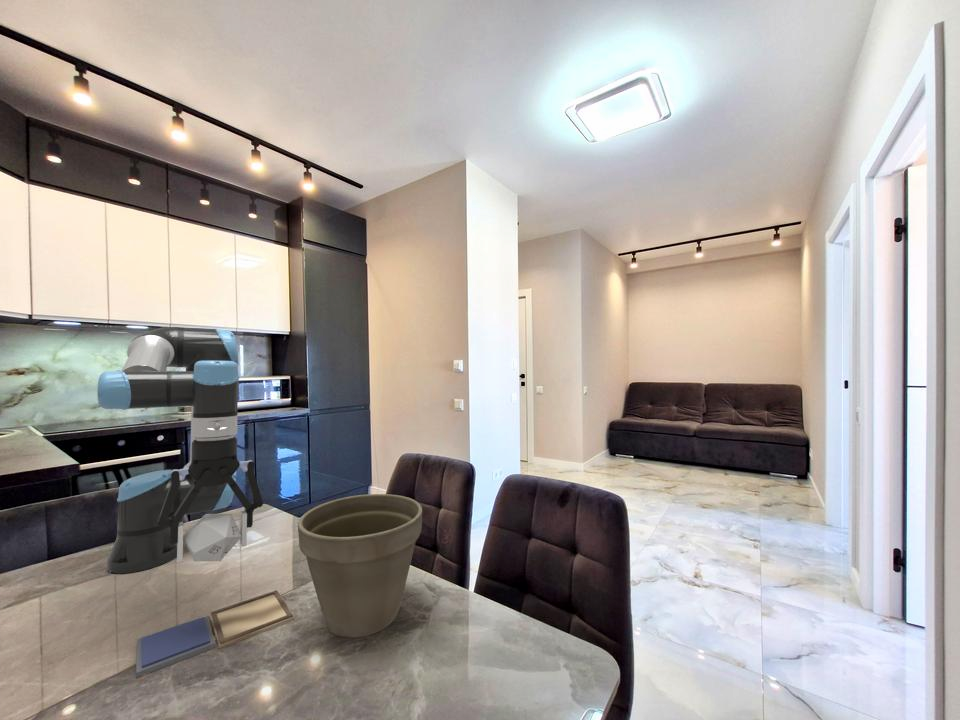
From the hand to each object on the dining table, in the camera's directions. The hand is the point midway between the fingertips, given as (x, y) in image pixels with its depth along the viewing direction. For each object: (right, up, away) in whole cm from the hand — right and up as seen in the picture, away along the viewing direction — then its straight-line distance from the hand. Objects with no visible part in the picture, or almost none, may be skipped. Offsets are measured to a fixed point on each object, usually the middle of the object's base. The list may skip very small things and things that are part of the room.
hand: (212, 551), depth 77 cm
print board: (+5, -16, +4) cm, 17 cm away
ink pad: (-4, -16, -4) cm, 17 cm away
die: (0, -1, 0) cm, 1 cm away
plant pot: (+28, -16, +4) cm, 33 cm away
